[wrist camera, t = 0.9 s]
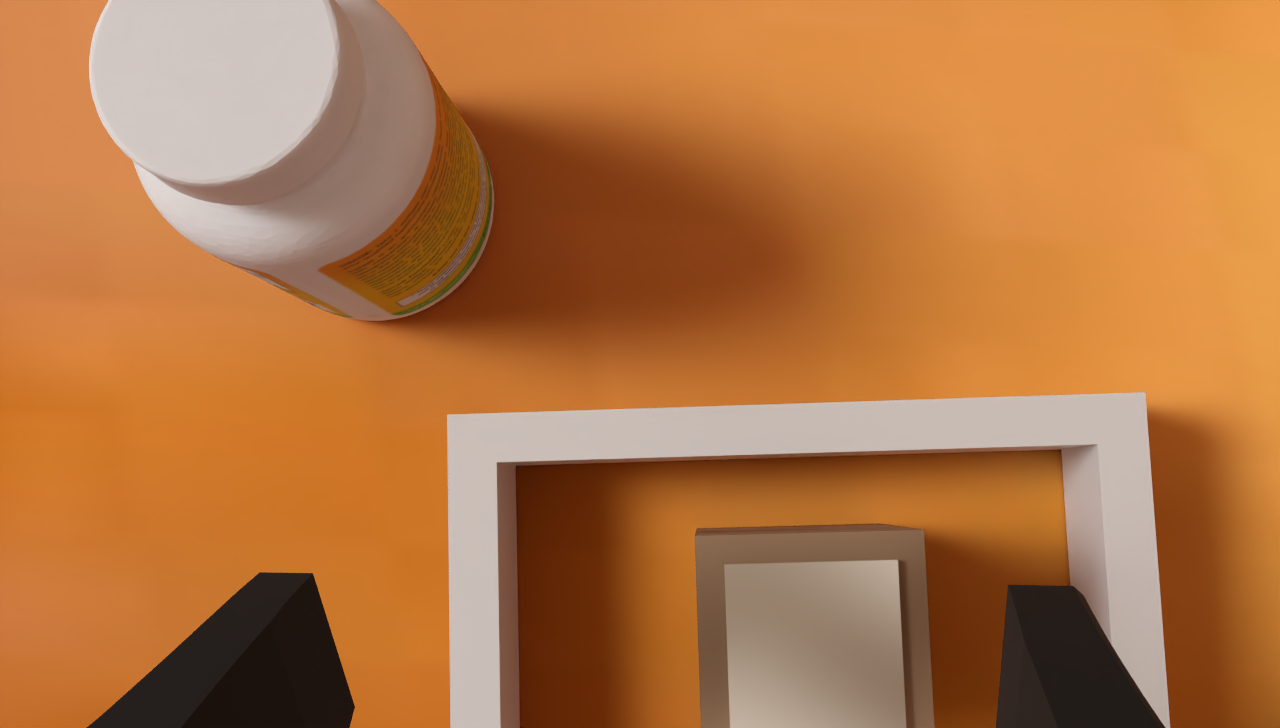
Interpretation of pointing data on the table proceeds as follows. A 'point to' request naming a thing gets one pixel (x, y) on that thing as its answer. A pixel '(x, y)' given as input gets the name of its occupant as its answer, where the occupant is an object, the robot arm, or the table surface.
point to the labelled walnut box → (813, 627)
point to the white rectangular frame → (1077, 424)
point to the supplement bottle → (298, 146)
